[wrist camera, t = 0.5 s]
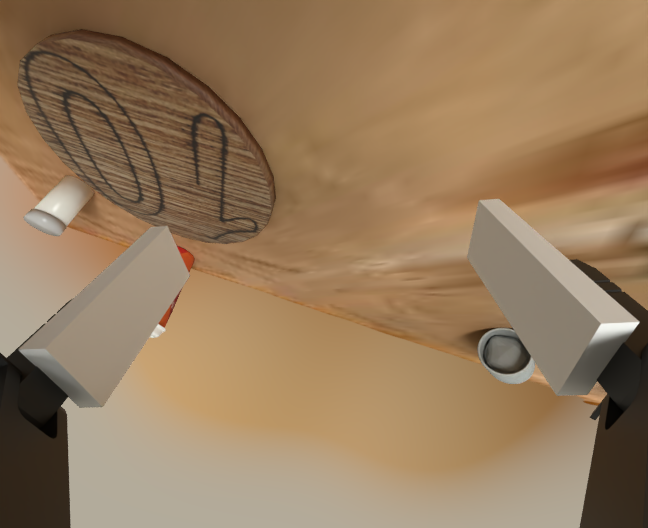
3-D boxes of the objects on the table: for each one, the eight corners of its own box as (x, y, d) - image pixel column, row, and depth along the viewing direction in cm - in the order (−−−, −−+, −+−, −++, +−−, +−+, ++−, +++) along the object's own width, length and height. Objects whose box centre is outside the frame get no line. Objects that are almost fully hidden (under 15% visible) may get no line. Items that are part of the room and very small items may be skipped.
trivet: (285, 88, 23) (278, 101, 22) (272, 251, 44) (268, 262, 43) (-48, -23, 21) (-71, -13, 20) (105, 202, 43) (97, 211, 42)
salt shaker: (56, 174, 39) (15, 215, 35) (78, 175, 38) (39, 217, 34) (80, 195, 42) (45, 235, 38) (101, 196, 41) (67, 237, 38)
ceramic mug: (485, 344, 56) (489, 387, 52) (475, 327, 50) (478, 373, 46) (556, 344, 49) (566, 393, 46) (553, 325, 44) (564, 378, 40)
